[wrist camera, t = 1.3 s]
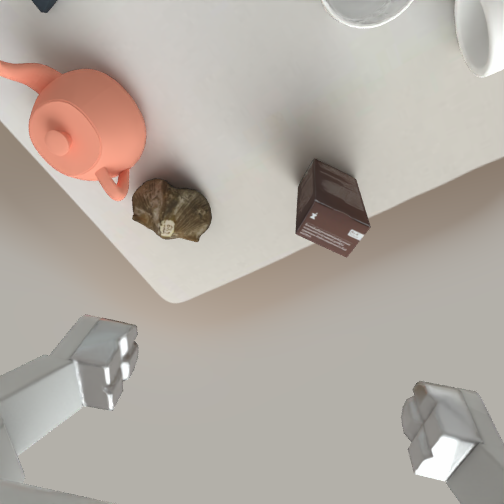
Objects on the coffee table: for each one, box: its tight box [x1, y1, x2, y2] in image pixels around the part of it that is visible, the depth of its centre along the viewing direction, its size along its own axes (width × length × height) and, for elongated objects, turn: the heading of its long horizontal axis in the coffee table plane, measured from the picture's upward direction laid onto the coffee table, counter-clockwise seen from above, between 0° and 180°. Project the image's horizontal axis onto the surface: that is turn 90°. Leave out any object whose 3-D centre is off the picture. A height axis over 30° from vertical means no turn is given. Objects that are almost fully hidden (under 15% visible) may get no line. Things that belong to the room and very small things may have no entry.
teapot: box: [0, 60, 146, 201], centre depth 39 cm, size 12×18×10 cm
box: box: [296, 159, 371, 257], centre depth 39 cm, size 6×4×12 cm
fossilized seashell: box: [132, 178, 212, 242], centre depth 46 cm, size 8×7×10 cm
